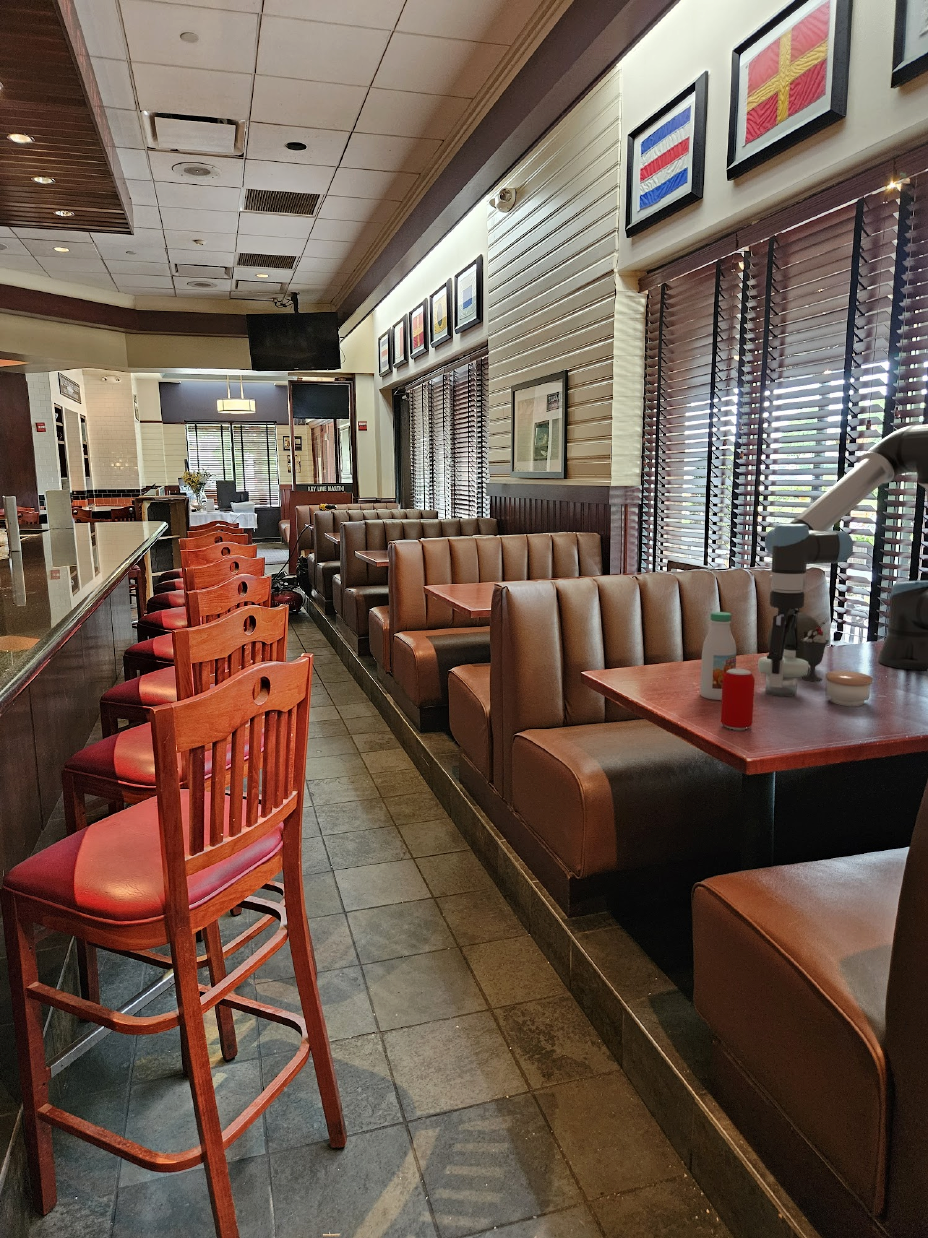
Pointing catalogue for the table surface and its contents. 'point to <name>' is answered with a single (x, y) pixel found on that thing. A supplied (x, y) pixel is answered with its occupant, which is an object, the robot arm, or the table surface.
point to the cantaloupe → (800, 632)
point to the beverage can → (737, 699)
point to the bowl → (848, 687)
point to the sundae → (814, 650)
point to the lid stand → (783, 687)
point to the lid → (786, 666)
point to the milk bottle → (717, 656)
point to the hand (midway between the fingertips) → (782, 681)
